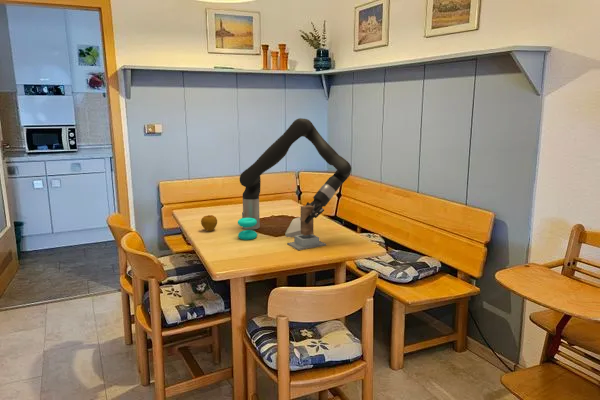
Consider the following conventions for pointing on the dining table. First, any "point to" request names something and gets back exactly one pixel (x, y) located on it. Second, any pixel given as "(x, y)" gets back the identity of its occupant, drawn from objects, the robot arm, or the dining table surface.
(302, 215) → the brown cylinder
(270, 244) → the dining table surface
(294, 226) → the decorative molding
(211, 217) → the apple
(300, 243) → the grey open box
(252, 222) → the donuts
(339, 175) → the robot arm
